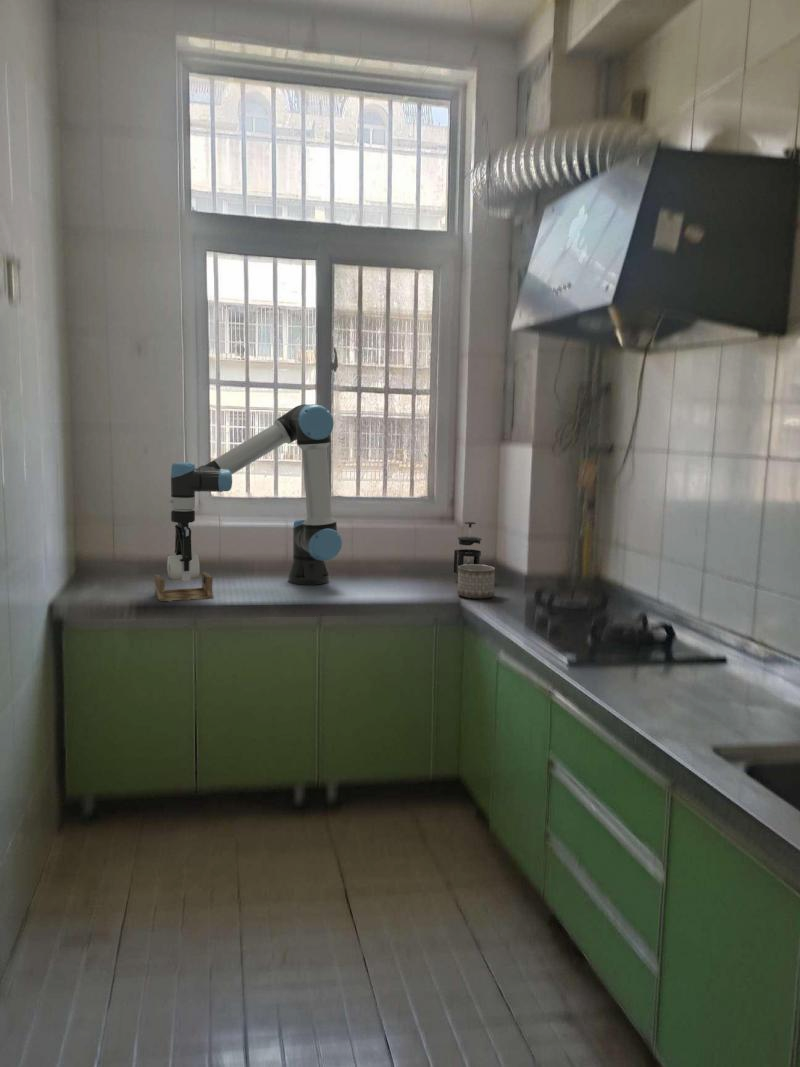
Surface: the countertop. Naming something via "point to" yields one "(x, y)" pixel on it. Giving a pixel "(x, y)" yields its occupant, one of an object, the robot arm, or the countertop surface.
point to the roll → (175, 567)
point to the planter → (476, 580)
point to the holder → (184, 590)
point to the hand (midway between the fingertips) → (183, 578)
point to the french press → (466, 551)
